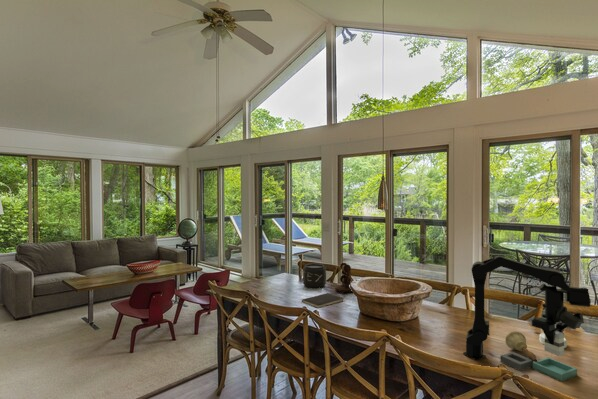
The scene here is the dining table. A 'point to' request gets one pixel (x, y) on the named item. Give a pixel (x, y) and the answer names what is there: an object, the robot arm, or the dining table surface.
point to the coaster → (542, 340)
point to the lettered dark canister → (314, 276)
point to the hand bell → (519, 344)
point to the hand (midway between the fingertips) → (554, 343)
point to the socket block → (516, 361)
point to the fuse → (555, 344)
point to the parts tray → (555, 369)
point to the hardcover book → (323, 300)
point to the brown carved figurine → (344, 278)
